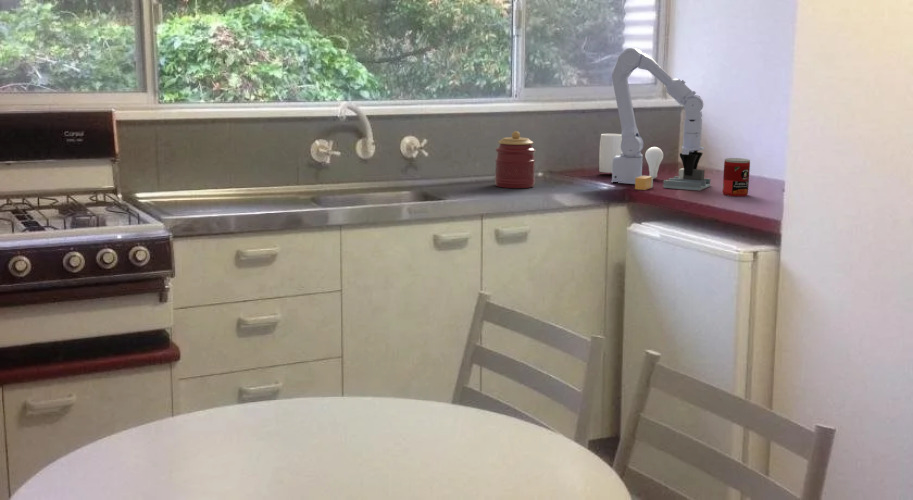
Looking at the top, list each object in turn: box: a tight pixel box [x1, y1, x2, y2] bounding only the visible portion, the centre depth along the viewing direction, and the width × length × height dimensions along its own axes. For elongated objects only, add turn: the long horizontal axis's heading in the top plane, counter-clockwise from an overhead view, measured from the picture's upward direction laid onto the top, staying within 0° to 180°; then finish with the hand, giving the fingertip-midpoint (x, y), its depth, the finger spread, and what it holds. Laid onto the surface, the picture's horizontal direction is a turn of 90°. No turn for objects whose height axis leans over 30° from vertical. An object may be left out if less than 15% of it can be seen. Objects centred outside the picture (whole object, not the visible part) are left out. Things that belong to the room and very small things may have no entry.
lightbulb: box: [644, 146, 664, 180], centre depth 372 cm, size 6×6×11 cm
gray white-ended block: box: [678, 167, 706, 181], centre depth 355 cm, size 8×3×4 cm, turn 62°
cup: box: [598, 133, 623, 174], centre depth 381 cm, size 8×8×14 cm
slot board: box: [662, 175, 712, 191], centre depth 353 cm, size 12×12×2 cm
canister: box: [494, 130, 537, 189], centre depth 348 cm, size 13×13×18 cm
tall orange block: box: [634, 175, 654, 191], centre depth 348 cm, size 8×3×4 cm, turn 152°
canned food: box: [722, 157, 751, 197], centre depth 336 cm, size 8×8×11 cm
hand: (690, 174), depth 355 cm, fingers closed on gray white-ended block, 3 cm apart
